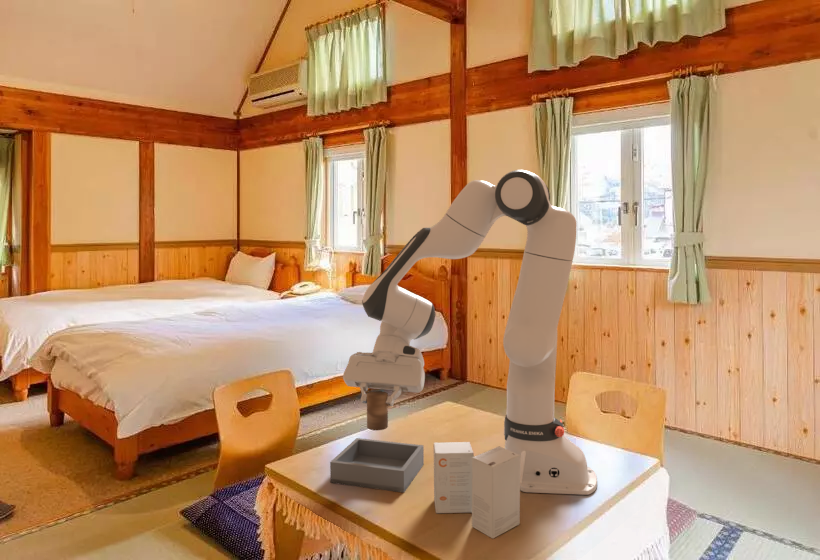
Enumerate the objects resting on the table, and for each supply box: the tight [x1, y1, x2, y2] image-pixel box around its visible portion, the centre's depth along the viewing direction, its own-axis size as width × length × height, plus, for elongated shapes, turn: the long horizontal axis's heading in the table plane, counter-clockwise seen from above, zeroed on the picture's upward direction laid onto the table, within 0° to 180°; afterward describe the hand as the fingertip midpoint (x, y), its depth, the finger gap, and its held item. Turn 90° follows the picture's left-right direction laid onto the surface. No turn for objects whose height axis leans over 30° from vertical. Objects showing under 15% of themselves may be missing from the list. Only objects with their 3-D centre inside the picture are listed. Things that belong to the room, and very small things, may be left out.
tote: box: [329, 437, 425, 494], centre depth 139 cm, size 18×16×5 cm
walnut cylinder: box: [366, 390, 389, 431], centre depth 138 cm, size 5×5×8 cm
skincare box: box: [471, 446, 521, 539], centre depth 114 cm, size 8×6×15 cm
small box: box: [433, 441, 475, 514], centre depth 122 cm, size 8×6×13 cm
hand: (376, 403), depth 138 cm, fingers closed on walnut cylinder, 5 cm apart
